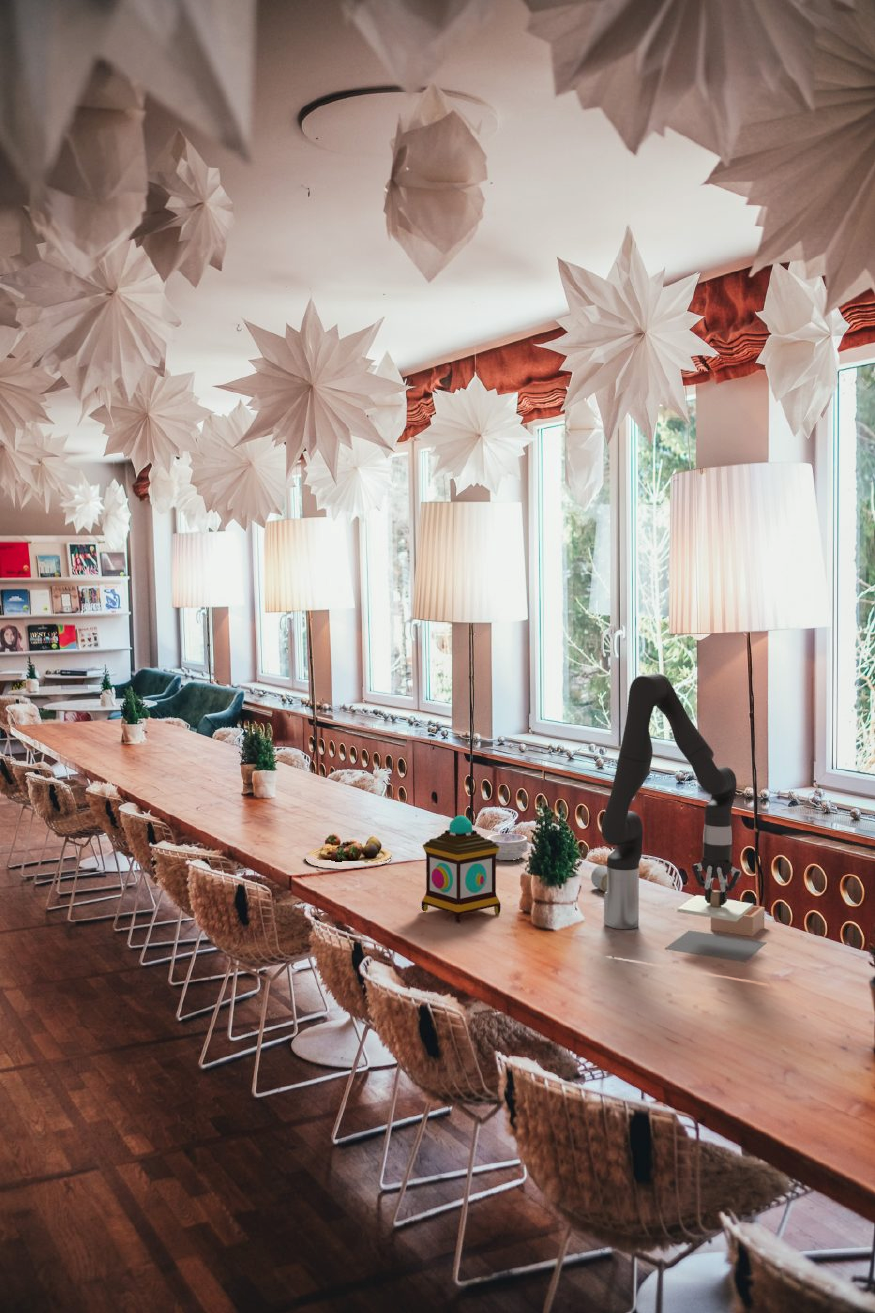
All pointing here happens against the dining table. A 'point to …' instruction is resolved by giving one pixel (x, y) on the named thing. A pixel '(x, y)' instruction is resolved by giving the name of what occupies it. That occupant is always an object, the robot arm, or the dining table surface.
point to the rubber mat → (716, 946)
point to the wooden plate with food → (352, 851)
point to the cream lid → (715, 907)
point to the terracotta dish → (742, 923)
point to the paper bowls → (509, 845)
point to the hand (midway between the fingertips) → (715, 903)
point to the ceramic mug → (600, 877)
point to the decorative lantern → (461, 871)
